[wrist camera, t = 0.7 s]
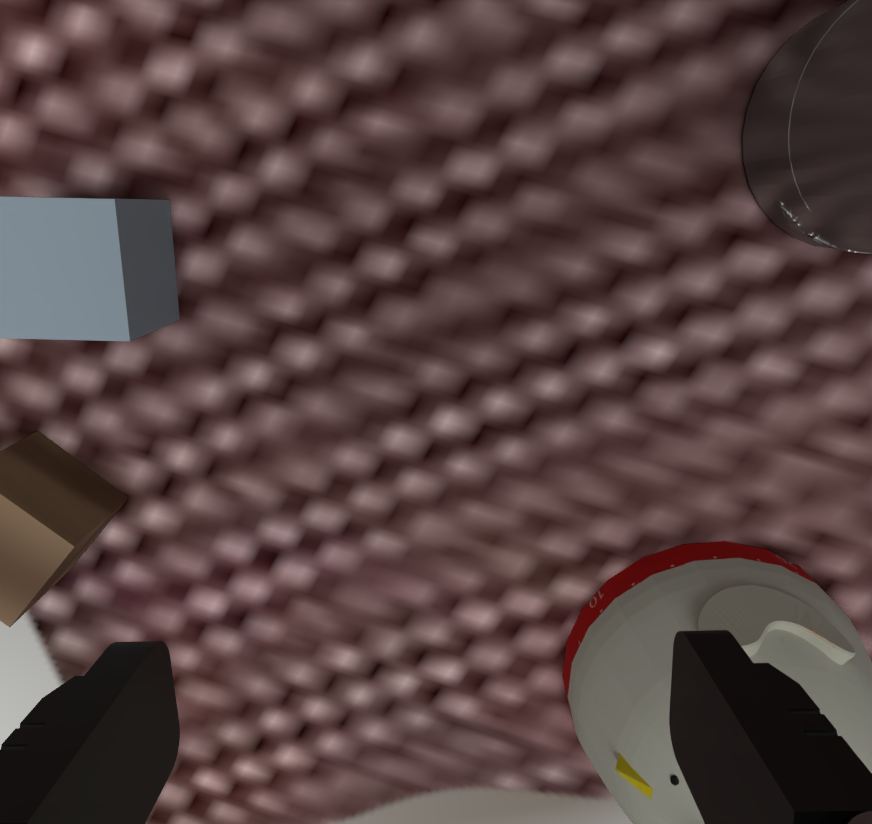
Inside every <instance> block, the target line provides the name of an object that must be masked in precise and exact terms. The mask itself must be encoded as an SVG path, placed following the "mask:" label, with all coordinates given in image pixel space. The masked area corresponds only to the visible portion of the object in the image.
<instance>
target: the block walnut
mask: <svg viewBox="0 0 872 824" xmlns="http://www.w3.org/2000/svg"><path fill="white" fill-rule="evenodd" d="M127 499H128V497H127V496H126V495H124V494H123V493H122V492H120V491H119V490H118V489H116V488H115V487H114V486H112V485H111V484H109V483H108V482H107V481H105V480H104V479H103V478H101V477H100V476H99V475H97V474H96V473H95V472H93V471H92V470H90V469H89V468H88V467H86V466H85V465H84V464H82V463H81V462H80V461H78V460H77V459H76V458H74V457H73V456H71V455H70V454H69V453H67V452H66V451H65V450H63V449H62V448H61V447H59V446H58V445H57V444H55V443H54V442H52V441H51V440H50V439H48V438H47V437H46V436H44V435H43V434H42V433H40V432H39V431H37V432H35V433H33V434H31V435H29V436H28V437H26V438H24V439H22V440H20V441H18V442H17V443H15V444H13V445H11V446H9V447H7V448H6V449H4V450H2V451H0V621H2V622H4V623H5V624H6V625H8V626H9V627H11V626H12V625H13V624H14V623H15V622H16V621H17V620H18V619H19V618H20V617H21V616H22V615H23V614H24V613H25V612H26V611H27V610H28V609H29V608H31V607H32V606H33V605H34V604H35V603H36V602H37V601H38V600H39V599H40V598H41V597H42V596H43V595H44V594H45V593H46V592H47V591H48V590H49V589H50V588H51V587H52V586H53V585H54V584H56V583H57V582H58V581H59V580H60V579H61V578H62V577H63V576H64V575H65V574H66V573H67V572H68V571H69V570H70V569H71V568H72V567H73V566H74V564H75V563H76V562H77V561H78V559H79V558H80V557H81V556H82V555H83V553H84V552H85V551H86V550H87V548H88V547H89V546H90V545H91V543H92V542H93V541H94V540H95V538H96V537H97V536H98V535H99V534H100V532H101V531H102V530H103V529H104V527H105V526H106V525H107V524H108V522H109V521H110V520H111V519H112V517H113V516H114V515H115V514H116V513H117V511H118V510H119V509H120V508H121V506H122V505H123V504H124V503H125V501H126V500H127Z"/></svg>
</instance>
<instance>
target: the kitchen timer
mask: <svg viewBox="0 0 872 824" xmlns="http://www.w3.org/2000/svg"><path fill="white" fill-rule="evenodd" d="M703 630H728V631H729V632H731V634H732V635H733V636H734V637H735V639H736V640H737V641H738V643H739V644H740V645H741V647H742V648H743V649H744V651H745V652H746V654H747V655H748V656H749V658H750V659H751V660H752V662H753V663H769V664H771V665H772V666H774V667H775V668H777V669H778V670H780V671H781V672H783V673H784V674H786V675H787V676H789V677H790V678H792V679H793V680H794V681H796V682H797V683H799V684H800V685H801V686H802V688H803V689H804V690H805V691H806V693H807V694H808V695H809V696H810V698H811V699H812V700H813V701H814V703H815V704H816V705H817V706H818V708H819V709H820V713H821V714H824V715H825V716H826V717H827V719H828V720H829V721H830V722H831V724H832V725H833V726H834V727H835V729H836V730H837V734H838V736H842V737H843V738H844V740H845V741H846V742H847V743H848V745H849V746H850V747H851V748H852V750H853V751H854V752H855V753H856V755H857V756H858V757H859V758H860V760H861V761H862V762H863V763H864V764H865V766H866V767H867V768H868V769H869V771H870V772H871V773H872V662H871V660H870V658H869V656H868V654H867V652H866V649H865V647H864V645H863V643H862V641H861V639H860V636H859V634H858V632H857V630H856V629H855V627H854V625H853V624H852V622H851V621H850V619H849V618H848V616H847V615H846V614H845V612H844V611H843V610H842V609H841V608H840V607H839V606H838V605H837V604H836V603H835V602H834V601H833V600H832V599H831V598H830V597H829V596H828V595H827V594H826V593H825V592H824V591H823V590H822V589H821V587H820V586H819V585H818V584H817V583H816V582H815V581H814V580H813V579H812V578H811V577H810V576H809V575H808V574H807V573H806V572H805V571H804V570H803V569H802V568H801V567H800V566H798V565H796V564H794V563H792V562H790V561H788V560H786V559H784V558H782V557H780V556H778V555H776V554H774V553H772V552H770V551H768V550H766V549H763V548H758V547H753V546H747V545H742V544H737V543H731V542H726V541H722V542H709V543H695V544H683V545H680V546H677V547H674V548H671V549H668V550H665V551H662V552H659V553H656V554H653V555H650V556H647V557H644V558H642V559H640V560H638V561H637V562H635V563H634V564H632V565H631V566H629V567H628V568H626V569H625V570H623V571H621V572H620V573H618V574H617V575H615V576H614V577H612V578H611V579H609V580H608V581H607V582H606V583H605V584H604V585H603V586H602V587H601V589H600V590H599V591H598V592H597V593H596V594H595V595H594V596H593V597H592V599H591V600H590V601H589V602H588V603H587V604H586V605H585V606H584V607H583V609H582V610H581V612H580V614H579V617H578V619H577V621H576V623H575V625H574V627H573V629H572V631H571V634H570V636H569V638H568V640H567V643H566V651H565V659H564V667H563V675H562V676H563V680H564V685H565V690H566V694H567V699H568V703H569V708H570V712H571V716H572V720H573V724H574V728H575V732H576V734H577V737H578V739H579V741H580V743H581V745H582V747H583V749H584V751H585V753H586V755H587V756H588V758H589V759H590V761H591V763H592V764H593V766H594V767H595V769H596V771H597V772H598V774H599V776H600V777H601V779H602V780H603V782H604V784H605V785H606V787H607V788H608V790H609V791H610V793H611V794H612V796H613V797H614V798H615V800H616V801H617V803H618V804H619V805H620V807H621V808H622V810H623V811H624V812H625V814H626V815H627V816H628V818H629V819H630V820H631V822H632V823H633V824H705V823H704V821H703V818H702V816H701V814H700V812H699V810H698V807H697V805H696V803H695V801H694V799H693V796H692V794H691V792H690V790H689V787H688V785H687V783H686V781H685V779H684V776H683V774H682V772H681V770H680V767H679V765H678V763H677V760H676V758H675V754H674V751H673V747H672V742H671V736H670V727H669V711H670V694H671V677H672V659H673V644H674V638H675V635H676V633H677V632H678V631H703Z"/></svg>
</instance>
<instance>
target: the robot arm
mask: <svg viewBox="0 0 872 824" xmlns="http://www.w3.org/2000/svg"><path fill="white" fill-rule="evenodd" d="M743 163H744V167H745V171H746V175H747V178H748V182H749V186H750V188H751V190H752V192H753V194H754V196H755V198H756V200H757V202H758V204H759V206H760V207H761V209H762V210H763V211H764V212H765V213H766V214H767V216H768V217H769V218H770V219H771V220H772V221H773V223H774V224H775V225H777V226H778V227H780V228H781V229H782V230H784V231H785V232H787V233H788V234H789V235H791V236H792V237H794V238H796V239H799V240H801V241H804V242H806V243H809V244H811V245H814V246H820V247H827V248H833V249H837V250H843V251H847V252H855V253H868V254H872V0H847V1H846V2H844V3H843V4H841V5H839V6H838V7H836V8H834V9H832V10H830V11H828V12H827V13H825V14H823V15H821V16H819V17H817V18H815V19H813V20H812V21H810V22H809V23H808V24H807V25H805V26H804V27H803V28H802V29H800V30H799V31H798V32H797V33H795V34H794V35H793V36H792V37H790V38H789V39H788V40H787V42H786V43H785V44H784V45H783V46H782V47H781V49H780V50H779V51H778V52H777V53H776V54H775V56H774V57H773V58H772V59H771V60H770V62H769V64H768V65H767V67H766V69H765V71H764V72H763V74H762V76H761V77H760V79H759V81H758V83H757V84H756V87H755V89H754V92H753V95H752V98H751V100H750V103H749V106H748V109H747V113H746V119H745V125H744V131H743ZM669 727H670V736H671V742H672V747H673V751H674V754H675V758H676V760H677V763H678V765H679V767H680V770H681V772H682V774H683V776H684V779H685V781H686V783H687V785H688V787H689V790H690V792H691V794H692V796H693V799H694V801H695V803H696V805H697V807H698V810H699V812H700V814H701V816H702V818H703V821H704V823H705V824H872V773H871V772H870V771H869V769H868V768H867V767H866V766H865V764H864V763H863V762H862V761H861V760H860V758H859V757H858V756H857V755H856V753H855V752H854V751H853V750H852V748H851V747H850V746H849V745H848V743H847V742H846V741H845V740H844V738H843V737H842V736H838V734H837V730H836V729H835V727H834V726H833V725H832V724H831V722H830V721H829V720H828V719H827V717H826V716H825V715H824V714H821V713H820V709H819V708H818V706H817V705H816V704H815V703H814V701H813V700H812V699H811V698H810V696H809V695H808V694H807V693H806V691H805V690H804V689H803V688H802V686H801V685H800V684H799V683H797V682H796V681H794V680H793V679H792V678H790V677H789V676H787V675H786V674H784V673H783V672H781V671H780V670H778V669H777V668H775V667H774V666H772V665H771V664H769V663H753V662H752V660H751V659H750V658H749V656H748V655H747V654H746V652H745V651H744V649H743V648H742V647H741V645H740V644H739V643H738V641H737V640H736V639H735V637H734V636H733V635H732V634H731V632H729V631H728V630H703V631H678V632H677V633H676V635H675V638H674V644H673V659H672V677H671V694H670V711H669ZM179 737H180V727H179V719H178V711H177V704H176V697H175V690H174V682H173V675H172V668H171V661H170V654H169V650H168V647H167V645H166V644H165V643H164V642H162V641H148V642H115V643H112V644H111V645H110V646H109V647H108V648H107V649H106V650H105V651H104V652H103V654H102V655H101V656H100V657H99V659H98V660H97V661H96V662H95V663H94V665H93V666H92V667H91V668H90V669H89V671H88V672H87V673H86V674H85V676H74V677H73V678H71V679H70V680H68V681H67V682H66V683H64V684H63V685H61V686H60V687H58V688H57V689H55V690H54V691H52V692H51V693H49V694H48V695H47V696H45V697H44V698H42V699H41V700H40V702H39V703H38V704H37V705H36V706H35V707H34V708H33V710H32V711H31V712H30V713H29V714H28V715H27V716H26V718H25V719H24V720H23V721H22V722H21V723H20V728H19V729H15V730H14V731H13V732H12V734H11V735H10V736H9V737H8V738H7V739H6V740H5V742H4V743H3V744H2V747H1V750H0V824H145V822H146V820H147V818H148V816H149V814H150V812H151V811H152V809H153V807H154V805H155V803H156V801H157V799H158V797H159V795H160V793H161V791H162V789H163V787H164V785H165V783H166V781H167V779H168V777H169V775H170V773H171V771H172V769H173V767H174V764H175V761H176V757H177V753H178V747H179Z"/></svg>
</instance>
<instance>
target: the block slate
mask: <svg viewBox="0 0 872 824" xmlns="http://www.w3.org/2000/svg"><path fill="white" fill-rule="evenodd" d="M178 320H180V316H179V305H178V293H177V281H176V269H175V257H174V246H173V234H172V222H171V210H170V200H150V199H105V198H60V197H3V196H0V338H16V339H56V340H97V341H132V340H134V339H136V338H139V337H141V336H143V335H146V334H148V333H150V332H153V331H155V330H157V329H160V328H162V327H164V326H167V325H169V324H171V323H174V322H176V321H178Z"/></svg>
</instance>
